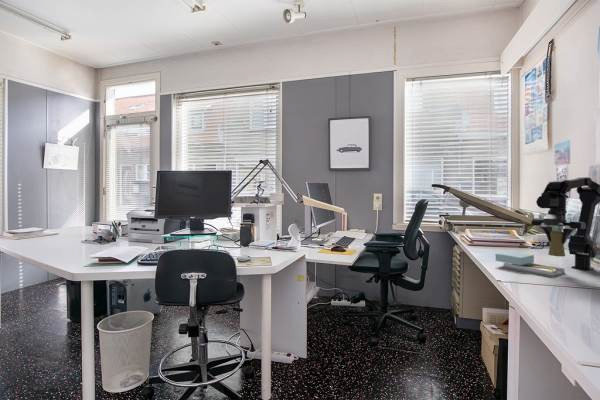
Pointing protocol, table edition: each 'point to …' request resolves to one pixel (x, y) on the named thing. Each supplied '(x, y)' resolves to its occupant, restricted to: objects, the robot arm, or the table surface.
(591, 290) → the table surface
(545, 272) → the board
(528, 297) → the table surface
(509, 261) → the cover
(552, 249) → the cork
